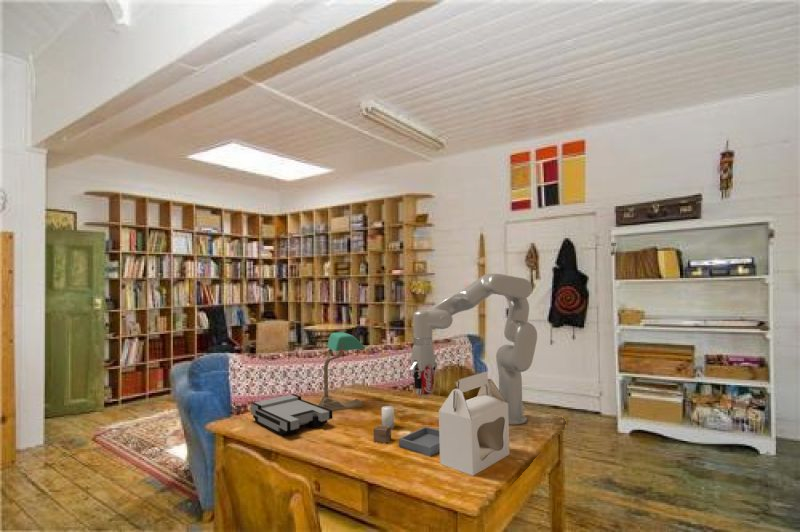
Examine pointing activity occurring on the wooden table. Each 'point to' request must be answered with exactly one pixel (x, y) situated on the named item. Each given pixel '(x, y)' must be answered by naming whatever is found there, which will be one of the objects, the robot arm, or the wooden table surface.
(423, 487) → the wooden table surface
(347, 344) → the banker's lamp
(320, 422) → the game console
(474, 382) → the gable box
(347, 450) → the wooden table surface
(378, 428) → the walnut block
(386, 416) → the grey ceramic shaker
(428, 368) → the soda can
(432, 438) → the tray
